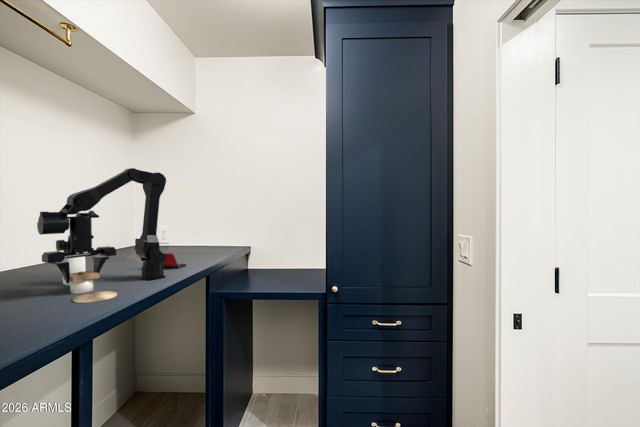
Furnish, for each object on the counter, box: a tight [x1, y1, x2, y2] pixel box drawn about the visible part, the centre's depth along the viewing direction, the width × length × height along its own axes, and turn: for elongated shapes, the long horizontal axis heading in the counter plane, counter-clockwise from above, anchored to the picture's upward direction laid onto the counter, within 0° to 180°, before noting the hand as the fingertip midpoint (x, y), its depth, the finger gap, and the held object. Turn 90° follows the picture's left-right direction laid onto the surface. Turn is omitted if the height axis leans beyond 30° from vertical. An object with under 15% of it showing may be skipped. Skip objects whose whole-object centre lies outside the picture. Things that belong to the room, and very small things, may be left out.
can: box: [62, 252, 86, 286], centre depth 116 cm, size 6×6×12 cm
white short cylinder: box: [69, 279, 94, 295], centre depth 105 cm, size 6×6×4 cm
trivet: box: [72, 290, 118, 304], centre depth 98 cm, size 11×11×1 cm
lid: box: [64, 270, 100, 282], centre depth 105 cm, size 7×7×2 cm
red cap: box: [162, 252, 187, 270], centre depth 145 cm, size 12×11×7 cm
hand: (81, 280), depth 105 cm, fingers closed on lid, 7 cm apart
